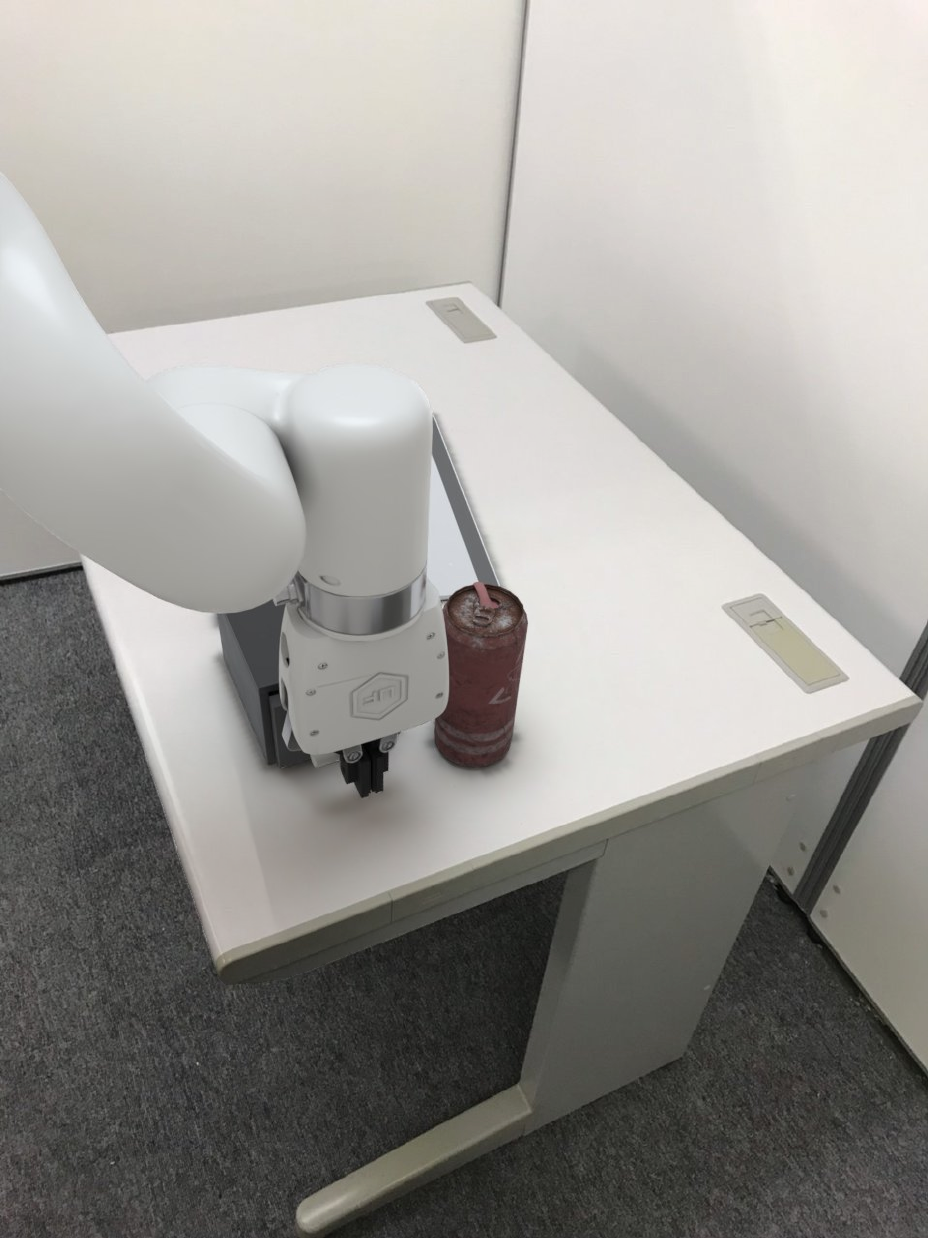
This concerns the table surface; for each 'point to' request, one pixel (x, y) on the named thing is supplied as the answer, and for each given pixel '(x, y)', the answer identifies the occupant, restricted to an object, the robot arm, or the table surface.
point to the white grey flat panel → (453, 529)
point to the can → (481, 673)
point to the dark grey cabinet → (254, 664)
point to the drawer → (281, 750)
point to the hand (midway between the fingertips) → (364, 779)
